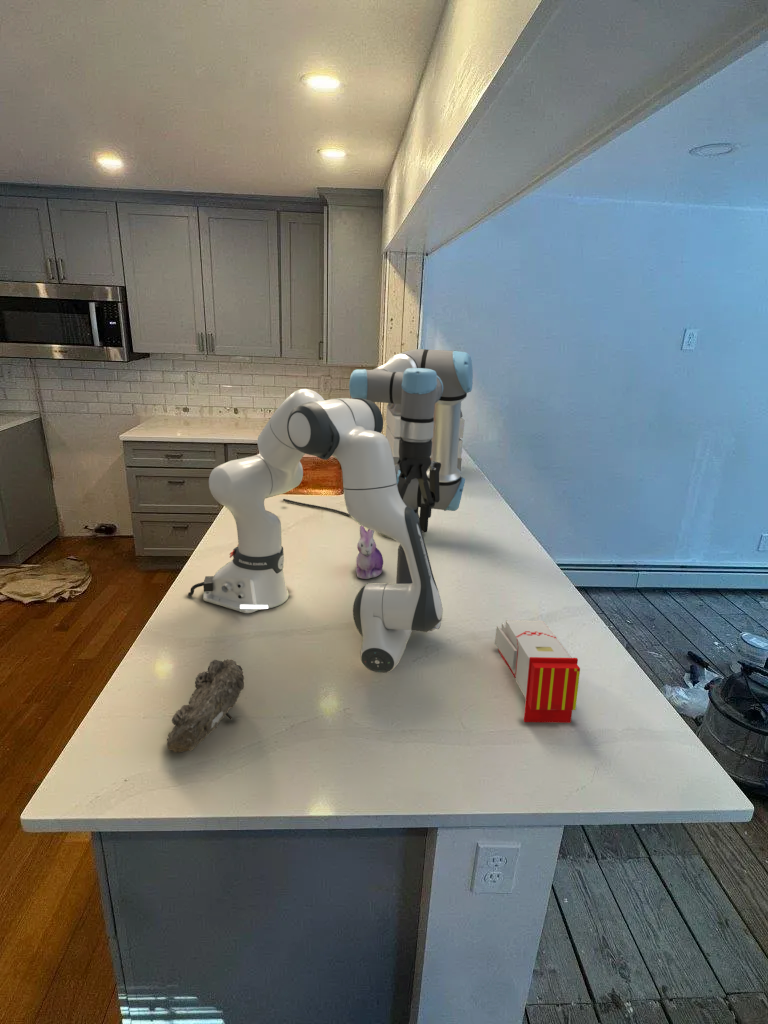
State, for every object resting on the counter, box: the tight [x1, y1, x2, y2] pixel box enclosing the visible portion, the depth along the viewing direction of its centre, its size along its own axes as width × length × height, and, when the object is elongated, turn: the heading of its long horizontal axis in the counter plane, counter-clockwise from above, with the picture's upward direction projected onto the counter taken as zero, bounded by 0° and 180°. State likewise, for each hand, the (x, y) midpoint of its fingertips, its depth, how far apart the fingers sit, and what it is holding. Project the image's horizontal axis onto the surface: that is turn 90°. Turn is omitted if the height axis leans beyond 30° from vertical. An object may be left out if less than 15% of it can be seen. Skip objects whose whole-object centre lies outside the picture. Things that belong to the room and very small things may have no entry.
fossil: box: [166, 658, 245, 754], centre depth 106 cm, size 22×10×15 cm
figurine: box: [355, 525, 384, 580], centre depth 167 cm, size 9×10×15 cm
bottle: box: [395, 544, 413, 584], centre depth 140 cm, size 5×5×25 cm
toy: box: [494, 619, 581, 724], centre depth 121 cm, size 12×13×30 cm
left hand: (406, 596), depth 143 cm, fingers closed on bottle, 5 cm apart
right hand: (409, 532), depth 137 cm, fingers open, 7 cm apart
